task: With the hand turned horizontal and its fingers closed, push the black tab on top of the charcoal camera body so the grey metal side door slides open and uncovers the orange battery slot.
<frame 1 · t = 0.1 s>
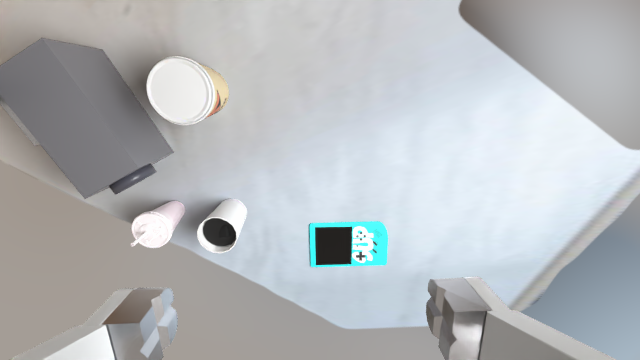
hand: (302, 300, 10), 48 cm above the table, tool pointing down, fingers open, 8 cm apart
handheld game console: (348, 242, 64), on the table
smoothie: (176, 209, 60), on the table
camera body: (117, 117, 54), on the table
coffee cup: (207, 91, 54), on the table
side door: (6, 116, 43), point 11 cm above the table, slide at 0.0 cm
white cylindrical cup: (232, 211, 60), on the table
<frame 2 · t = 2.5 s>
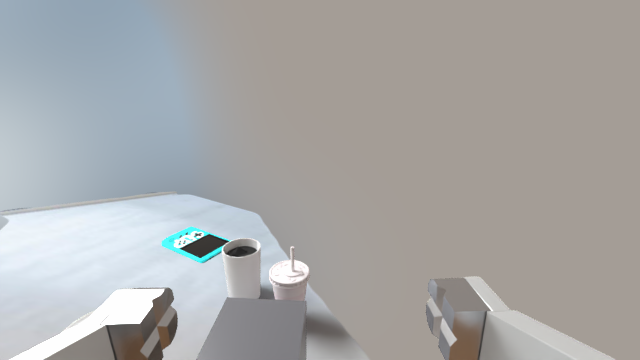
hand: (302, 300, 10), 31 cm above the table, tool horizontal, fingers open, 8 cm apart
handheld game console: (197, 246, 74), on the table
smoothie: (290, 321, 51), on the table
white cylindrical cup: (244, 295, 57), on the table
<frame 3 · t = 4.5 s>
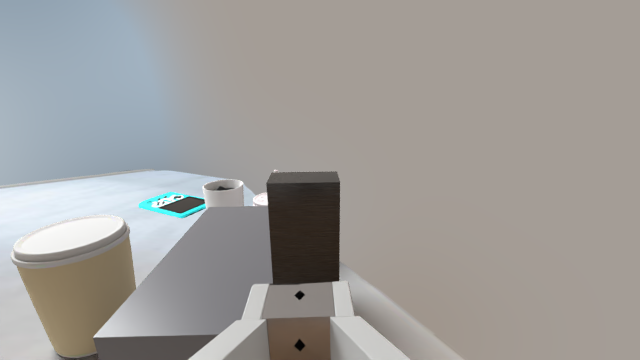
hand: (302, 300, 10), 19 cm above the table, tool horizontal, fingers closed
handheld game console: (176, 207, 71), on the table
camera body: (240, 355, 30), on the table
coffee cup: (99, 331, 34), on the table
side door: (309, 291, 23), point 11 cm above the table, slide at 0.0 cm
white cylindrical cup: (228, 239, 55), on the table
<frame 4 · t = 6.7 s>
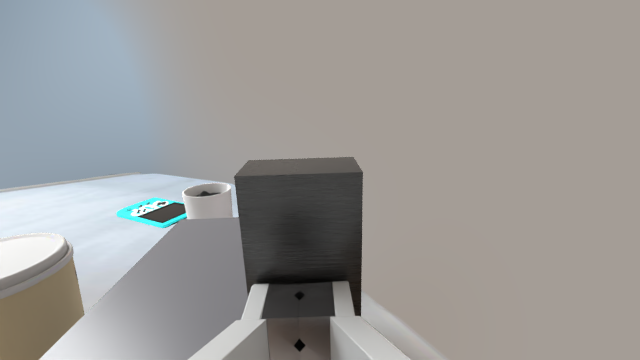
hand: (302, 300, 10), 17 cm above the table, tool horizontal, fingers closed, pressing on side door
handheld game console: (160, 215, 63), on the table
side door: (311, 330, 16), point 11 cm above the table, slide at 1.7 cm, touching gripper
white cylindrical cup: (215, 252, 47), on the table
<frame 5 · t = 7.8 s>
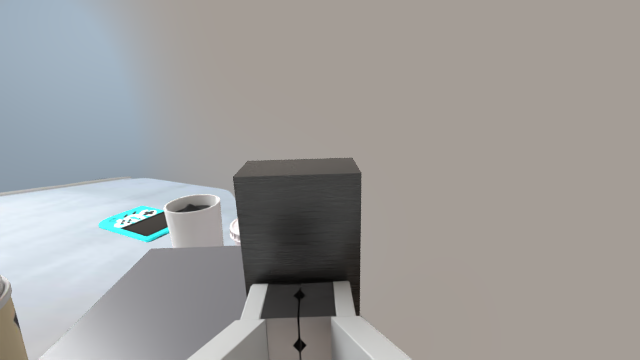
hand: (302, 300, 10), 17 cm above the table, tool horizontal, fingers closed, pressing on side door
handheld game console: (146, 226, 58), on the table
side door: (310, 330, 16), point 11 cm above the table, slide at 7.2 cm, touching gripper
white cylindrical cup: (203, 273, 41), on the table
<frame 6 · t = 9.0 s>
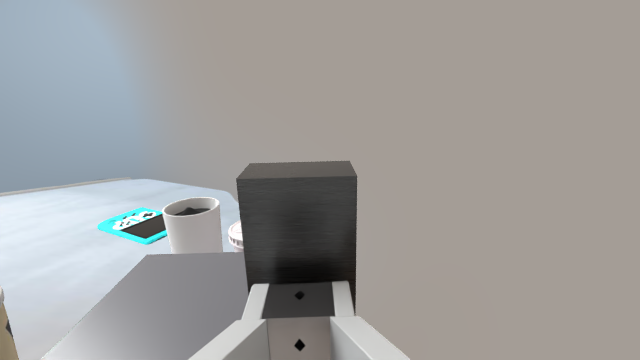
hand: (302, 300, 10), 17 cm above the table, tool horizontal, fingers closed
handheld game console: (145, 228, 57), on the table
smoothie: (265, 304, 35), on the table
side door: (309, 327, 17), point 11 cm above the table, slide at 8.3 cm
white cylindrical cup: (202, 276, 41), on the table
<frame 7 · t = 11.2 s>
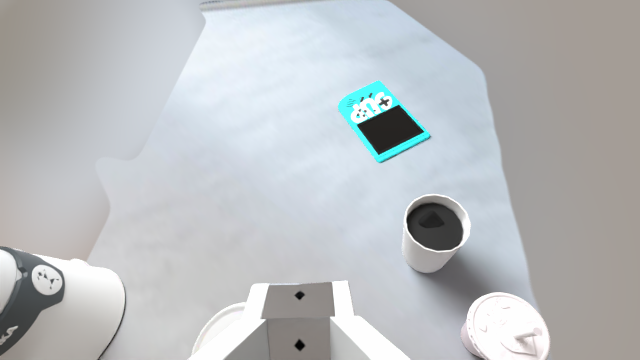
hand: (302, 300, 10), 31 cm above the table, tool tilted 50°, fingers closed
handheld game console: (379, 122, 54), on the table
smoothie: (477, 337, 35), on the table
coffee cup: (276, 358, 37), on the table
white cylindrical cup: (424, 251, 41), on the table
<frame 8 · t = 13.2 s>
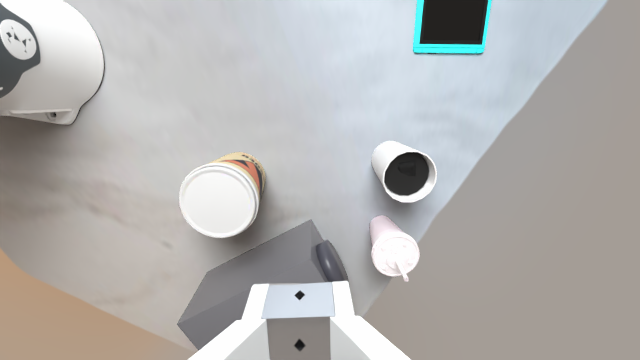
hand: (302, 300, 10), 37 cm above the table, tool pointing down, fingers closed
smoothie: (380, 225, 50), on the table
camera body: (273, 269, 51), on the table
coffee cup: (240, 176, 47), on the table
white cylindrical cup: (389, 159, 47), on the table
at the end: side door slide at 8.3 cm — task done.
